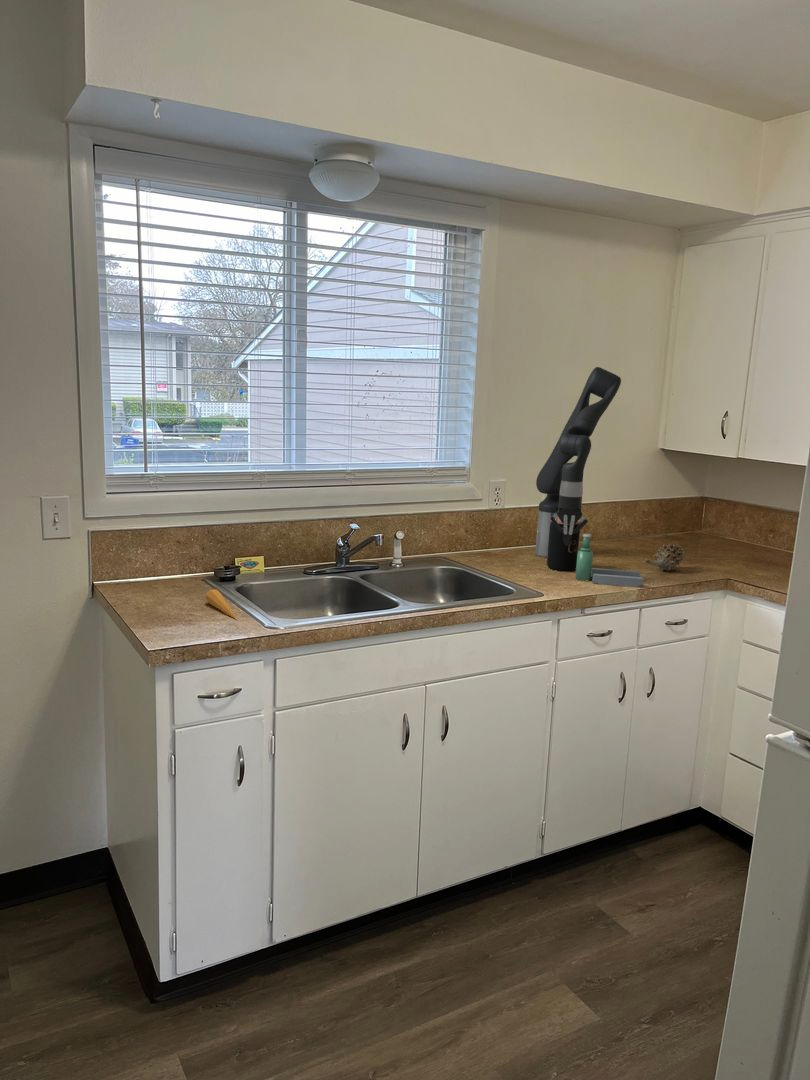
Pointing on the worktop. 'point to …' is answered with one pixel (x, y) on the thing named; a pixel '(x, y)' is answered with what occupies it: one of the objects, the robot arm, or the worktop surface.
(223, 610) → the carrot
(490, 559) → the worktop surface
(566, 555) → the coffee jar
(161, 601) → the worktop surface
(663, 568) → the pine cone
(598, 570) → the cradle
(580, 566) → the bottle
